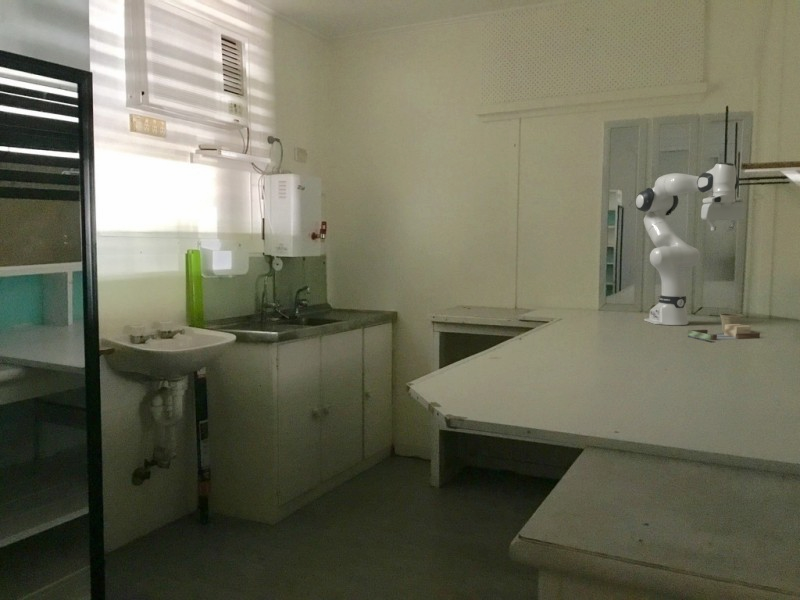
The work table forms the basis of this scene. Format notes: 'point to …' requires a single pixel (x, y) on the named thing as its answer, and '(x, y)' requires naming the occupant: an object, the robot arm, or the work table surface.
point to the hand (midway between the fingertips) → (722, 230)
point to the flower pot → (730, 319)
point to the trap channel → (719, 335)
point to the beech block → (736, 329)
